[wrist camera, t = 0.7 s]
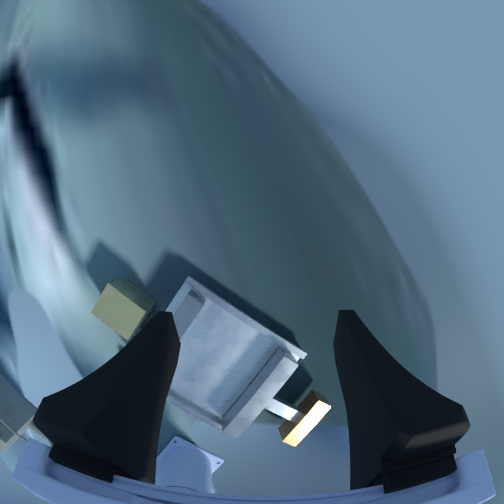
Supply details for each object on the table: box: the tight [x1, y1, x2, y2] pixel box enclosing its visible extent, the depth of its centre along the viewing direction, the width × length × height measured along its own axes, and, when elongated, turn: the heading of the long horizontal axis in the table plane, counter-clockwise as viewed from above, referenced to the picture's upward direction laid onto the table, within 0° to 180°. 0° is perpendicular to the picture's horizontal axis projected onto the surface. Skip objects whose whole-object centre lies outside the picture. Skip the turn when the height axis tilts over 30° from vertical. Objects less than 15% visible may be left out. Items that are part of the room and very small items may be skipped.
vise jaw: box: [222, 347, 331, 446], centre depth 32 cm, size 12×9×3 cm
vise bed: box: [166, 275, 307, 431], centre depth 32 cm, size 14×16×5 cm
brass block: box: [91, 277, 156, 341], centre depth 31 cm, size 4×5×5 cm
